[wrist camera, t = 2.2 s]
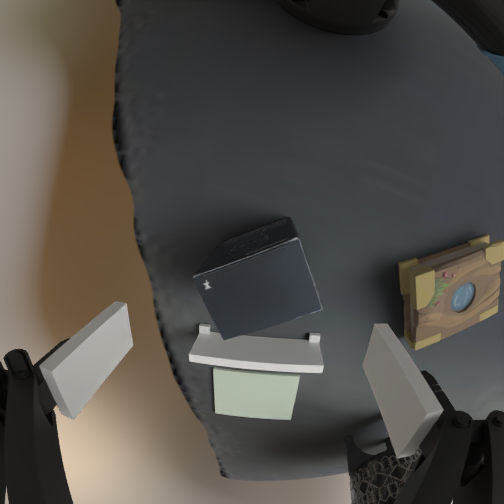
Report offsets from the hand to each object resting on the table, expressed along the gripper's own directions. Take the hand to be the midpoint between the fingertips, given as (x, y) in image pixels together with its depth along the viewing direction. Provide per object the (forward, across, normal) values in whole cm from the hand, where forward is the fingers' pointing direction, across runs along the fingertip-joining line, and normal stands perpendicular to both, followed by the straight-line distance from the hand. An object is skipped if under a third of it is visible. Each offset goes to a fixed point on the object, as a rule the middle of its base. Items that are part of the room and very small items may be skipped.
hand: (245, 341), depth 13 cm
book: (+16, +24, -2) cm, 29 cm away
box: (+16, 0, 0) cm, 16 cm away
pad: (+16, 0, -20) cm, 25 cm away
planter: (+16, +21, -29) cm, 39 cm away
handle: (+16, 0, -10) cm, 19 cm away
